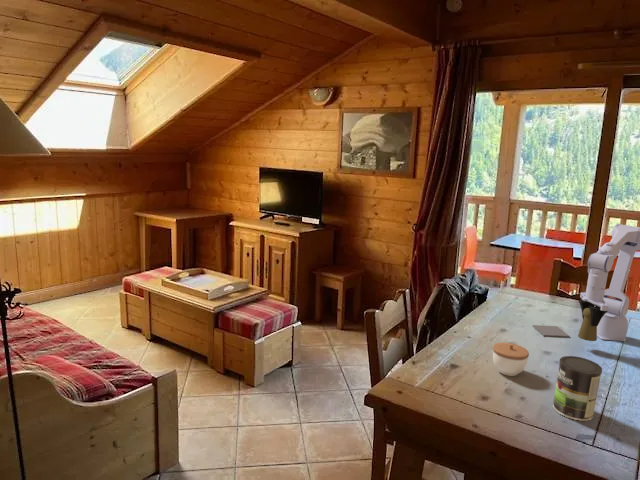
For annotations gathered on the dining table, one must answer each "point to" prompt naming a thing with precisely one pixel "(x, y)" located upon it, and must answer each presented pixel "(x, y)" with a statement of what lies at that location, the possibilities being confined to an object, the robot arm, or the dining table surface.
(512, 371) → the lidded jar
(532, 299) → the dining table surface
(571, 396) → the coffee can
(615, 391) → the dining table surface
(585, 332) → the cork
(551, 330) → the slate coaster
